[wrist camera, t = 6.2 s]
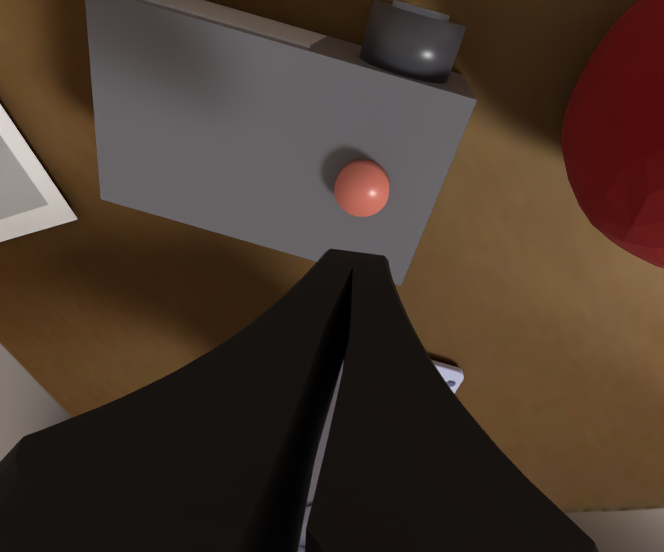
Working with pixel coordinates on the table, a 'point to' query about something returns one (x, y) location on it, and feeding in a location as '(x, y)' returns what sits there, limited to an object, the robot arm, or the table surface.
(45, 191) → the touchpad
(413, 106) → the camera body
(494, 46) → the table surface
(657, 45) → the apple
